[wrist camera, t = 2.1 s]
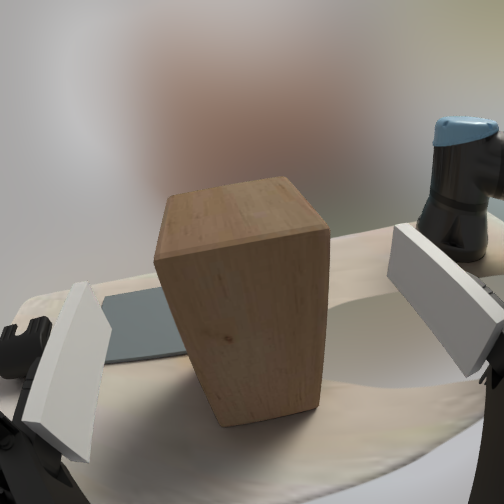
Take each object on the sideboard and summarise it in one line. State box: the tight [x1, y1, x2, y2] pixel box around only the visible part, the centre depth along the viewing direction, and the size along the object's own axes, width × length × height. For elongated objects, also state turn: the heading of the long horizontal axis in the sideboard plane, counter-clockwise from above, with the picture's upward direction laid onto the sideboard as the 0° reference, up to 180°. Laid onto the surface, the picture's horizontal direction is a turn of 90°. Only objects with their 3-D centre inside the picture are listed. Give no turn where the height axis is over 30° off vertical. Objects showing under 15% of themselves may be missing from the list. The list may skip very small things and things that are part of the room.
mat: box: [101, 287, 187, 364], centre depth 40 cm, size 16×14×1 cm
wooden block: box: [154, 176, 330, 427], centre depth 25 cm, size 10×10×20 cm
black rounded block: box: [0, 316, 52, 379], centre depth 31 cm, size 10×7×7 cm
